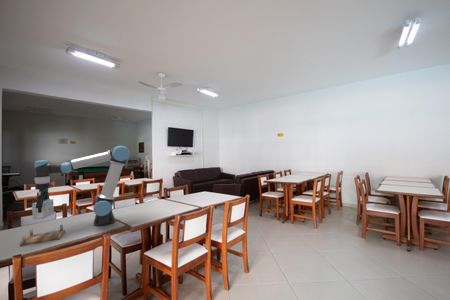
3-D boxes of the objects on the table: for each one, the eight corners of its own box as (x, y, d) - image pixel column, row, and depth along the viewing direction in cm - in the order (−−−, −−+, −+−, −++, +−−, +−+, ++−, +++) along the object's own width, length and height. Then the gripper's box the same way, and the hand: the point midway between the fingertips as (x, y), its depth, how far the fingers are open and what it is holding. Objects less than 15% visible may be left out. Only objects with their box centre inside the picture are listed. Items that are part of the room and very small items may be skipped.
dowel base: (64, 231, 152) (64, 224, 152) (59, 239, 138) (59, 231, 138) (28, 237, 142) (28, 229, 142) (19, 246, 129) (19, 237, 129)
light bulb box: (43, 214, 145) (43, 199, 145) (54, 213, 146) (53, 198, 146) (32, 219, 134) (31, 203, 134) (43, 219, 135) (43, 202, 135)
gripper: (41, 181, 149) (42, 210, 149) (28, 186, 127) (29, 221, 128) (54, 180, 152) (55, 209, 153) (44, 185, 131) (45, 219, 131)
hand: (43, 214), depth 140 cm, fingers closed on light bulb box, 12 cm apart
